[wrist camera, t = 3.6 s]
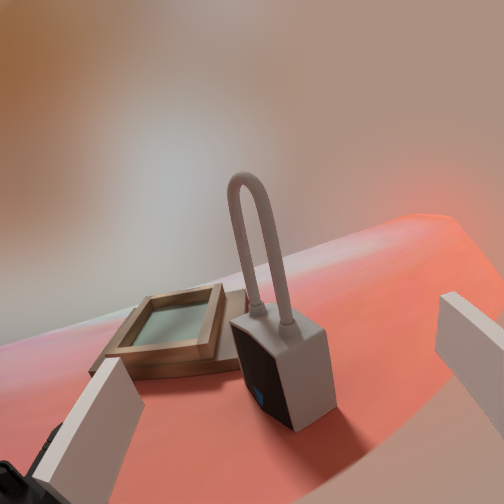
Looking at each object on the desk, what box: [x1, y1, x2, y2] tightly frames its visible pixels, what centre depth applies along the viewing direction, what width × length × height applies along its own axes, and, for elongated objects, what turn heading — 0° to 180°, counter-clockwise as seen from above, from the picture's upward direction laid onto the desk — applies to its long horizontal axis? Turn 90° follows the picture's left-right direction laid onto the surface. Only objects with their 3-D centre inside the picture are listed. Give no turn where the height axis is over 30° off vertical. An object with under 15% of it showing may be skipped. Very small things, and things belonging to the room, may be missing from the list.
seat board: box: [88, 283, 248, 380], centre depth 30 cm, size 15×14×3 cm
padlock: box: [227, 171, 337, 433], centre depth 17 cm, size 7×4×15 cm, turn 29°
